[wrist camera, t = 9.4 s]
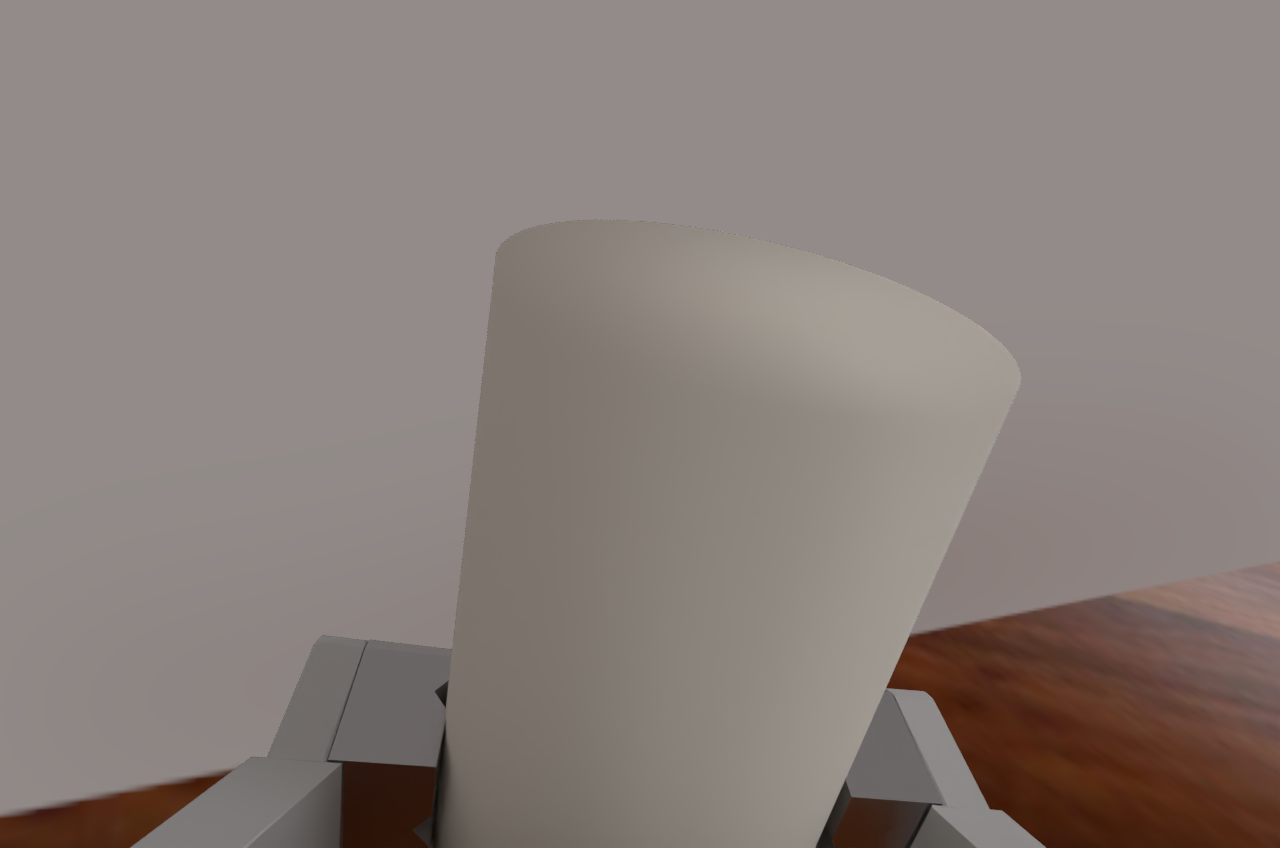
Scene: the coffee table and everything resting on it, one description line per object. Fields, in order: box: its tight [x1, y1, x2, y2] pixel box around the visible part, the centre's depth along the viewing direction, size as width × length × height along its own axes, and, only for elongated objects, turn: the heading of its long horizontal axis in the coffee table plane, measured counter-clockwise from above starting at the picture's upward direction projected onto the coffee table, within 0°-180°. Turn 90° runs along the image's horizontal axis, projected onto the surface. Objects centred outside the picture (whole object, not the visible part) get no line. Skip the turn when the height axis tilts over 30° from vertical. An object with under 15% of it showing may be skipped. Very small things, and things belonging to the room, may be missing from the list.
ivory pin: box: [431, 220, 1021, 848], centre depth 9 cm, size 4×4×12 cm
